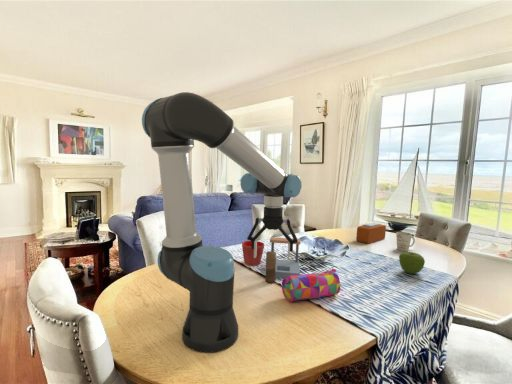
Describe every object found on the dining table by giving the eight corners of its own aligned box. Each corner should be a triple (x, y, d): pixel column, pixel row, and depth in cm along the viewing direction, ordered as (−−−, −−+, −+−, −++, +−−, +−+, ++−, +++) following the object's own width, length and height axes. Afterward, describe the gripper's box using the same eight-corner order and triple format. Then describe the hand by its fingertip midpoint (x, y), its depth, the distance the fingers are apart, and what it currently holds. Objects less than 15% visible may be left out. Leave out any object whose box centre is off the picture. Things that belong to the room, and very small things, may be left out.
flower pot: (267, 265, 133) (268, 245, 133) (245, 267, 129) (246, 247, 128) (258, 258, 143) (259, 240, 142) (238, 260, 139) (239, 241, 138)
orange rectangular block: (373, 236, 201) (374, 221, 200) (385, 239, 195) (386, 223, 194) (355, 241, 185) (357, 224, 184) (367, 244, 179) (369, 227, 178)
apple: (417, 279, 123) (419, 257, 122) (393, 271, 131) (395, 250, 130) (427, 273, 130) (429, 252, 129) (403, 267, 138) (405, 247, 137)
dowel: (274, 283, 113) (275, 254, 112) (264, 283, 113) (265, 253, 112) (275, 280, 117) (276, 251, 115) (265, 279, 117) (266, 251, 116)
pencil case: (325, 286, 112) (327, 264, 111) (342, 297, 103) (344, 273, 103) (278, 296, 102) (279, 272, 102) (293, 308, 94) (294, 282, 93)
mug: (391, 248, 172) (393, 232, 172) (408, 247, 176) (409, 231, 175) (402, 252, 165) (404, 235, 164) (419, 250, 168) (420, 234, 167)
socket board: (299, 279, 118) (301, 248, 117) (266, 276, 120) (267, 246, 119) (298, 266, 134) (300, 239, 133) (269, 263, 136) (270, 237, 135)
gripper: (304, 206, 114) (302, 257, 116) (244, 203, 117) (243, 253, 120) (305, 209, 107) (303, 263, 109) (240, 206, 110) (239, 258, 112)
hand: (271, 258), depth 114 cm, fingers open, 13 cm apart
